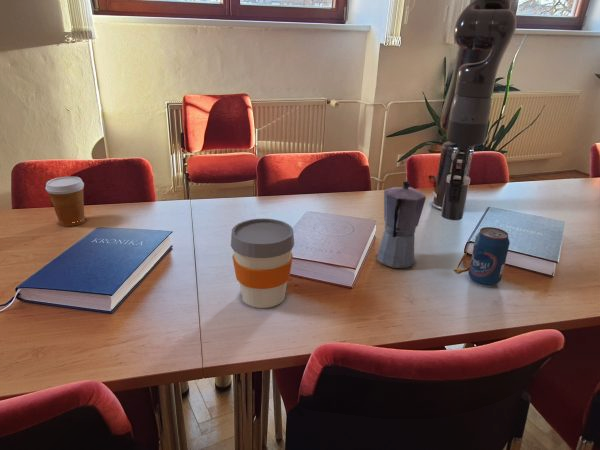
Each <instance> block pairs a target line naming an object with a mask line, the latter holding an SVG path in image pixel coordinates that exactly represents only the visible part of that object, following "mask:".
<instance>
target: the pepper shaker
mask: <svg viewBox="0 0 600 450" xmlns="http://www.w3.org/2000/svg"><path fill="white" fill-rule="evenodd" d="M450 179H451V174H450V175H447V179H446V181H447V182H446V188H445V194H444V200H443V206H442V210H441V212H440V216H441V217H442V218H444V219H446V220H450V221H460V220H462V219H463V218H464V214H465V208H466V203H467V199H468V198H467V197H468V191H469V186H470V183H471V177H470V176H469V177H468V176H464V181H463V182H464V185H463V186H462V190H461V195H460V200H459V202H458V203H453V202H449V200H448V199H449V193H450V187H451V185H450V183H449V182H450ZM454 179H458V180H461V176H454Z"/></svg>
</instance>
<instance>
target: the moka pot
mask: <svg viewBox="0 0 600 450" xmlns="http://www.w3.org/2000/svg"><path fill="white" fill-rule="evenodd" d="M402 183H403V184H402V185H403V187H401V186H400V187H399V186H398V187H397V186H393V187H390V188H386V189H384V190H383V200H384V201H383V209H384V210H383V220H384V232H383V235H382V238H381V240H380V241H381V242H380V245H379V248H378V253H377V256H376V260H377V261H378V262H379V263H380V264H382V265H384V266H387V267H389V268H394V269H406V268H410V267H412V266H414V262H415V233H416V228H417V227H418V226H419V223H420V219H421V216H422V212H423V210H424V206H425V203H426V199H427V196H426V195H425V194H424V193H423V191H420V190H417V189H414V187H411V186H410V184H411V182H409V181H407V180H405V181H403V182H402Z"/></svg>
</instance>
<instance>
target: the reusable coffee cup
mask: <svg viewBox="0 0 600 450" xmlns="http://www.w3.org/2000/svg"><path fill="white" fill-rule="evenodd" d="M230 235H231V236H230V247H231V250H232V251H233V254H232V262H233V267H234V273H235V278H236V280H237V282H238V284H239V289H240V294H241V299H242V301H243V302H244V303H245V304H246V305H248V306H250V307H253V308H258V309H267V308H272V307H275V306H277V305H279V304H281V303H282V302H283V301H284V299H285V296H286V289H287V284H288V281H289V279H290V277H291V270H292V265H293V258H294V255H293V252H292V251H293V248H294V247H295V235H294V229H293V227H292V226H291V224H289V223H287V222H285V221H282V220H279V219H274V218H252V219H247V220H244V221H241V222H238V223H237V224H236V225H234V226H233V227H232V229H231V234H230Z"/></svg>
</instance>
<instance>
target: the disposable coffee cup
mask: <svg viewBox="0 0 600 450" xmlns="http://www.w3.org/2000/svg"><path fill="white" fill-rule="evenodd" d="M84 187H85V182H84V181H83V179H82V178H81V177H78V176H61V177H56V178H52V179H50V180H48V181H47V182H46V183H45V187H44V189H45V191H46V192H47V193H48V195H49V198H50V201H51V204H52V207H53V210H54V212H55V215H56V217H57V220H58V222H59V221H60V222H59V225H60V226H62V227H75V226H79V225H81V224H83V223H85V220H86V219H85V203H84V202H85V200H84V197H85V196H84ZM83 218H84V219H83ZM82 219H83V220H82ZM80 220H81V221H80ZM77 221H78V222H77ZM61 222H62V223H61ZM72 222H75V223H72Z"/></svg>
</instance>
